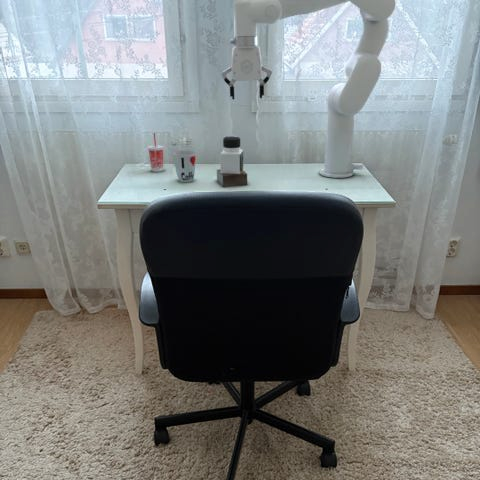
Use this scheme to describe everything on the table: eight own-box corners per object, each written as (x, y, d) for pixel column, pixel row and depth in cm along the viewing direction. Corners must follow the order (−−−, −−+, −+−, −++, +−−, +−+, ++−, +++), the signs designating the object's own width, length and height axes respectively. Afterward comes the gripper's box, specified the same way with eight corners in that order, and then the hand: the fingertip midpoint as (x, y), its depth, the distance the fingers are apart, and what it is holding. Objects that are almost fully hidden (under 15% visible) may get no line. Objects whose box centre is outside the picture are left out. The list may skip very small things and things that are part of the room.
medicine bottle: (240, 174, 182) (240, 139, 176) (220, 173, 183) (219, 138, 177) (243, 169, 188) (243, 135, 182) (224, 168, 189) (223, 134, 183)
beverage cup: (166, 168, 206) (163, 131, 199) (164, 172, 201) (161, 134, 194) (150, 168, 206) (147, 131, 199) (148, 172, 201) (145, 134, 194)
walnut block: (240, 178, 192) (240, 167, 190) (247, 184, 185) (247, 173, 183) (216, 180, 190) (216, 169, 188) (222, 187, 183) (222, 175, 181)
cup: (179, 184, 186) (178, 156, 181) (171, 179, 192) (169, 151, 187) (200, 181, 189) (199, 153, 184) (191, 176, 196) (190, 149, 191)
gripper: (219, 44, 167) (222, 100, 176) (272, 42, 168) (272, 98, 176) (219, 43, 174) (222, 97, 183) (271, 41, 174) (270, 96, 183)
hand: (247, 98), depth 179 cm, fingers open, 9 cm apart
